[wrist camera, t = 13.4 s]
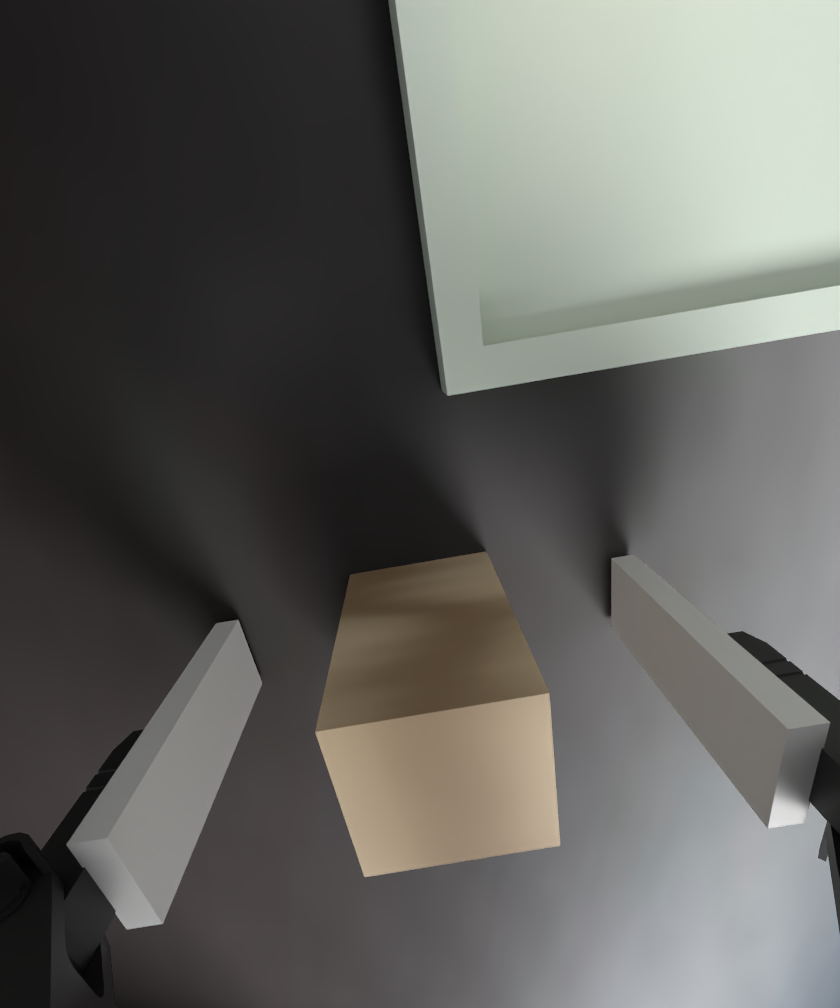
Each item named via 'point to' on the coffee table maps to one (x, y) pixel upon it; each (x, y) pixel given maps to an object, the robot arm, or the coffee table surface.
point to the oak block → (437, 720)
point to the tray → (620, 178)
